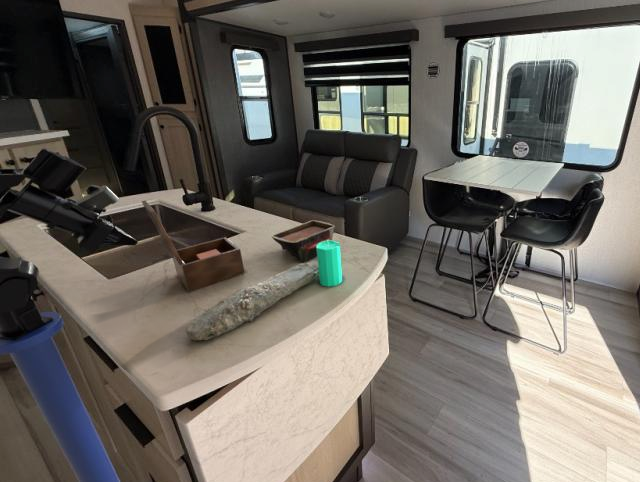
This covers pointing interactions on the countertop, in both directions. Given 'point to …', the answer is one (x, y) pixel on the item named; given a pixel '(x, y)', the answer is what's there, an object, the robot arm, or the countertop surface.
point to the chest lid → (162, 232)
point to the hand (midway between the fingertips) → (136, 243)
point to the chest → (208, 263)
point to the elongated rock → (250, 302)
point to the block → (207, 254)
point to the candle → (329, 263)
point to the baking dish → (304, 239)
